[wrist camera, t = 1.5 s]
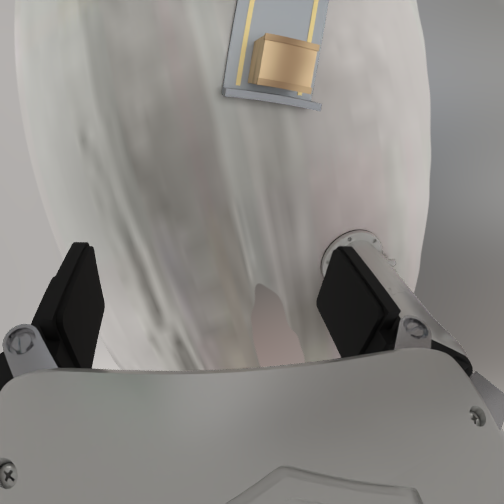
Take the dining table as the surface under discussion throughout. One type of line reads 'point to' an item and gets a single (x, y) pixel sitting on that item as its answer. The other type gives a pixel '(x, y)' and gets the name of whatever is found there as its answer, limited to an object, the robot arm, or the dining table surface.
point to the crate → (283, 63)
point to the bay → (279, 23)
